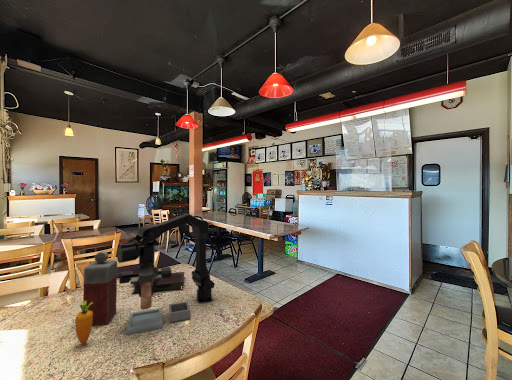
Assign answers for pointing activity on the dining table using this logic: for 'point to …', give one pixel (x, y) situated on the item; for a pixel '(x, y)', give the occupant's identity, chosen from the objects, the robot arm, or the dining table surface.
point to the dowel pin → (146, 295)
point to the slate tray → (144, 321)
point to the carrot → (84, 323)
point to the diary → (167, 283)
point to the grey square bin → (179, 312)
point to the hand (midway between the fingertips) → (146, 295)
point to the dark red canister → (101, 288)
